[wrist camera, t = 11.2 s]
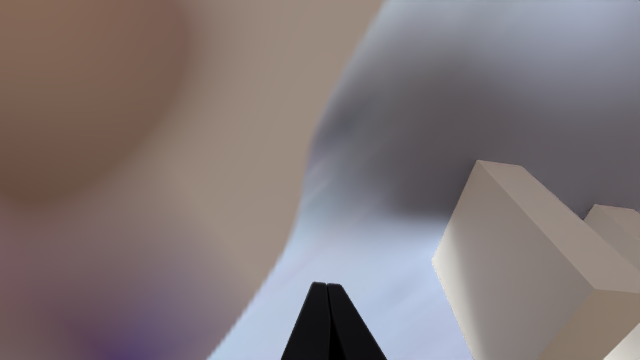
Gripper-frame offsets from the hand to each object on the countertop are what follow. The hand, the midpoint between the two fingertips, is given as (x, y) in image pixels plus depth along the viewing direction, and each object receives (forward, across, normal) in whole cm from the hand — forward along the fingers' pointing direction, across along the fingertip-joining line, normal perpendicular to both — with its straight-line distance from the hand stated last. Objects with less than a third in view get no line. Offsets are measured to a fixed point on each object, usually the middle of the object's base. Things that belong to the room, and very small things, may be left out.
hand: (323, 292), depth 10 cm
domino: (+3, -6, -1) cm, 6 cm away
